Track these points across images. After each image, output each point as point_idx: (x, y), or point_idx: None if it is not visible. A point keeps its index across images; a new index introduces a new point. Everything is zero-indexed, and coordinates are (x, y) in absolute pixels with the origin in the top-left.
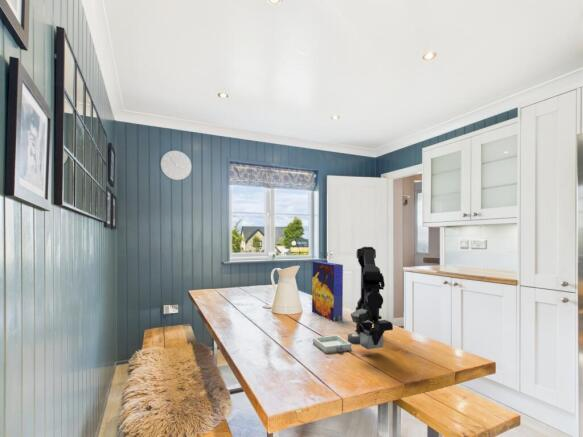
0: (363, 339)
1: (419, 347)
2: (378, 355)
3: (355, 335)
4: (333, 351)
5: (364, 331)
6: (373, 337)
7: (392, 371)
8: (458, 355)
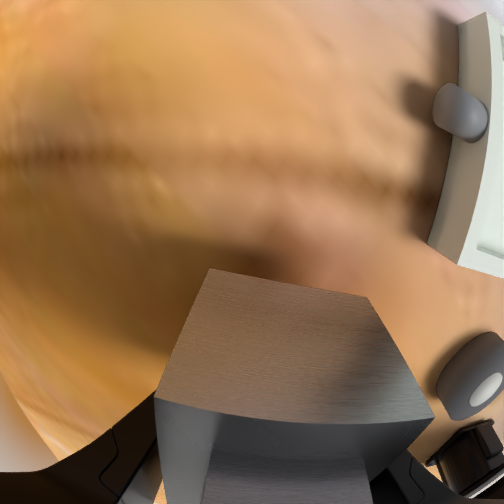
0: (315, 343)
1: None
2: None
3: (483, 392)
4: (462, 76)
5: (396, 466)
6: (155, 433)
7: (4, 213)
8: None
